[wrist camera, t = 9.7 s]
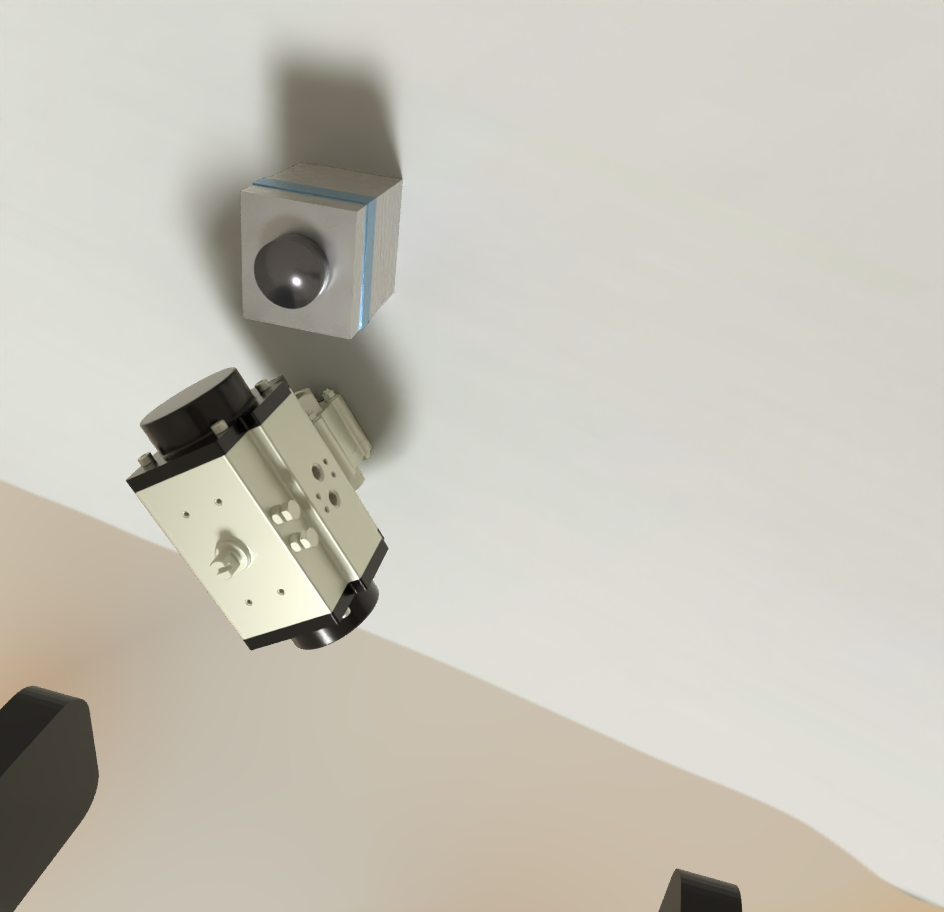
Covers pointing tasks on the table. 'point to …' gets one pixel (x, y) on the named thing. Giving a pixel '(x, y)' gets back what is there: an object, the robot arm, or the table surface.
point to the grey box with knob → (319, 248)
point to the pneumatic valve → (266, 505)
